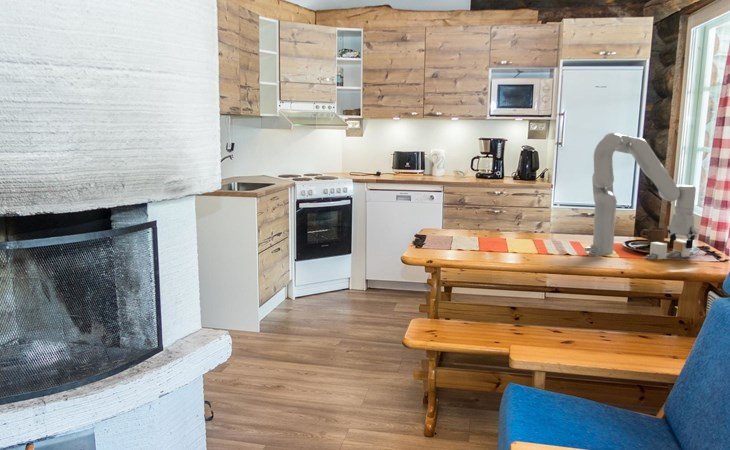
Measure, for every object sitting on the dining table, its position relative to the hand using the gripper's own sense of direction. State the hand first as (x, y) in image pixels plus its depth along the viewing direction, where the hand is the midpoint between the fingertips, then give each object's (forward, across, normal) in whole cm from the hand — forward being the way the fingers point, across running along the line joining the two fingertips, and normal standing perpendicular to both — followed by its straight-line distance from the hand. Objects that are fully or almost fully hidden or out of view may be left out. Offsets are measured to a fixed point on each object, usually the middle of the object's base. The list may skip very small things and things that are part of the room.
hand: (680, 246), depth 275 cm
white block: (+5, 0, -13) cm, 14 cm away
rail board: (+6, 0, -6) cm, 9 cm away
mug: (+6, -26, +8) cm, 27 cm away
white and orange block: (+4, 0, 0) cm, 5 cm away
